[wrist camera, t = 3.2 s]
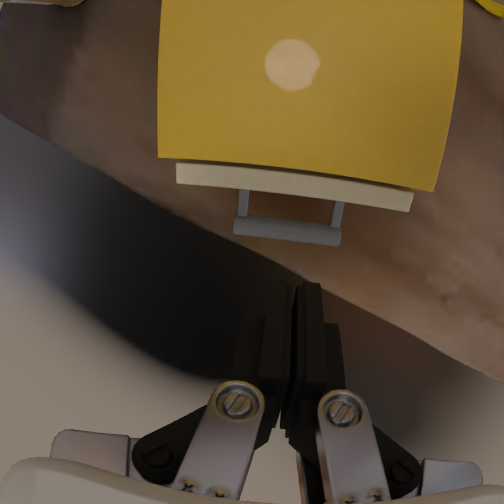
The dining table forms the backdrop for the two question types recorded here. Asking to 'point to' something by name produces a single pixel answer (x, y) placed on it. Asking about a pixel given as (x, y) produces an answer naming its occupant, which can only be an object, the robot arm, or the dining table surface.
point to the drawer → (292, 184)
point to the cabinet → (311, 84)
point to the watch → (492, 7)
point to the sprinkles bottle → (47, 2)
